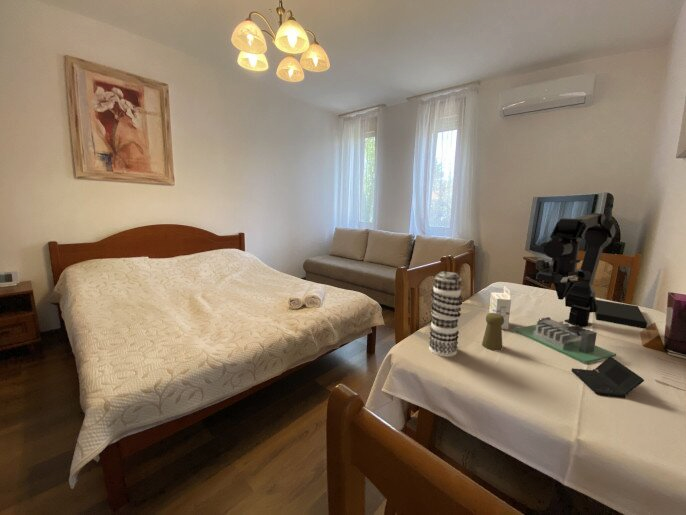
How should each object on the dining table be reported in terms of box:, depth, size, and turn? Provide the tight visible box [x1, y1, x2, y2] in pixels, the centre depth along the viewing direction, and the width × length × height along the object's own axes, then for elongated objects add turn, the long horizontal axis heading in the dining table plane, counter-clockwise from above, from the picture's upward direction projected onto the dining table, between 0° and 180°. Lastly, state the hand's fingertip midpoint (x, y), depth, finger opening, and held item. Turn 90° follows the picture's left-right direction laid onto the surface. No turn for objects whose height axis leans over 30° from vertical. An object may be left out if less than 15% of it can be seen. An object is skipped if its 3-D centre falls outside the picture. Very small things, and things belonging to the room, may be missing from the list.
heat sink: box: [533, 320, 598, 353], centre depth 96 cm, size 12×16×6 cm
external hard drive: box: [594, 299, 648, 330], centre depth 121 cm, size 14×23×3 cm, turn 141°
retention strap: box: [538, 316, 587, 336], centre depth 96 cm, size 4×12×2 cm, turn 19°
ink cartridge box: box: [488, 285, 512, 330], centre depth 110 cm, size 9×5×15 cm, turn 168°
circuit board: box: [512, 324, 617, 365], centre depth 97 cm, size 14×24×1 cm, turn 19°
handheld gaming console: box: [571, 357, 645, 399], centre depth 74 cm, size 12×7×10 cm
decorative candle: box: [428, 271, 463, 358], centre depth 89 cm, size 9×9×25 cm
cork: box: [481, 313, 504, 351], centre depth 93 cm, size 6×6×11 cm
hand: (560, 299), depth 101 cm, fingers closed
